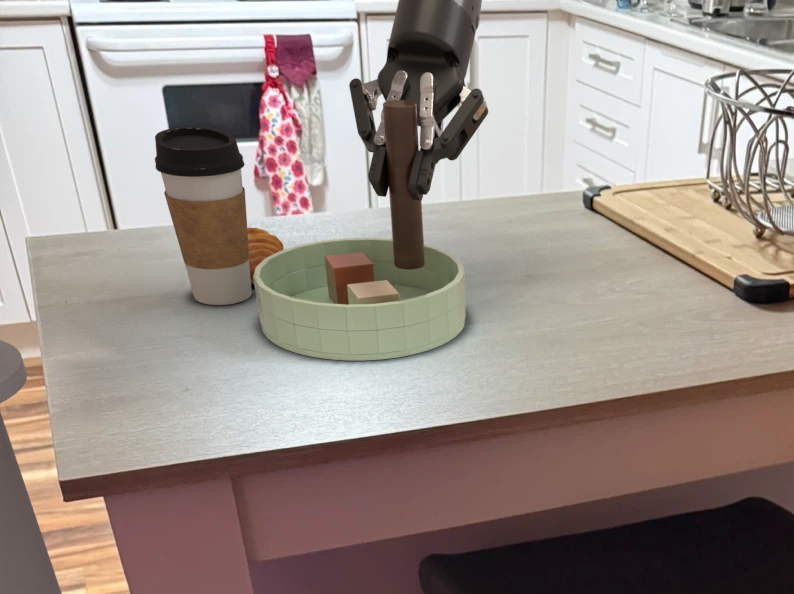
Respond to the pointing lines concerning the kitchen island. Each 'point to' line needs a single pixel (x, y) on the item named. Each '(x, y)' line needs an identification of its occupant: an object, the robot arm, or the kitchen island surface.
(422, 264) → the brown tall cylinder
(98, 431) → the kitchen island surface
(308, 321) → the bowl
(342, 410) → the kitchen island surface
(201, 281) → the coffee cup
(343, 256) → the block terracotta
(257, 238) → the pastry
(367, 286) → the block cream
